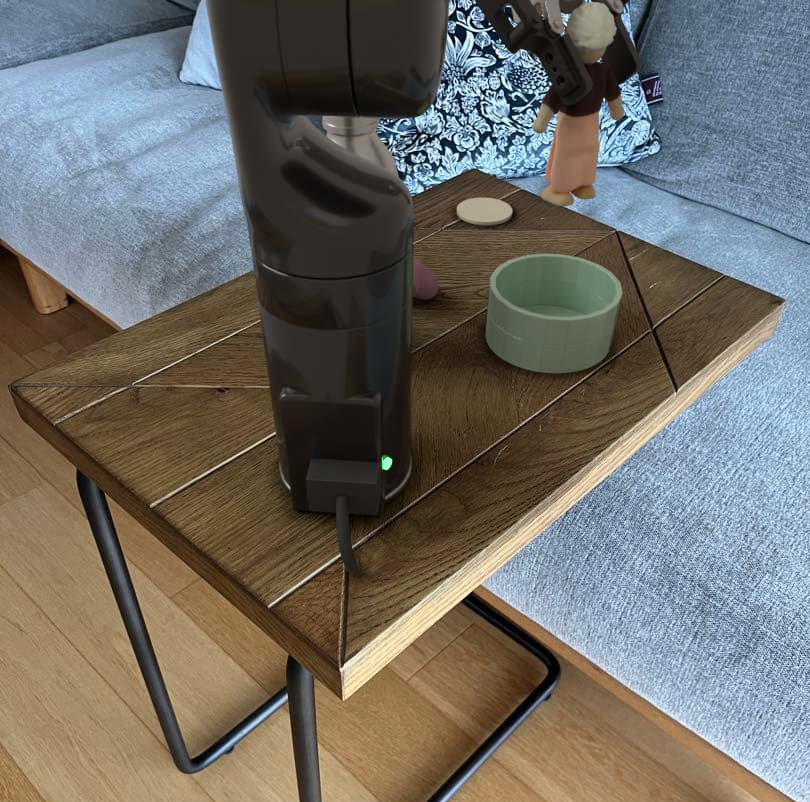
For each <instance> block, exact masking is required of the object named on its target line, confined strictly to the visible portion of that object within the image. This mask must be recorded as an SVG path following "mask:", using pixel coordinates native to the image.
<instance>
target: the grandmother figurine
mask: <svg viewBox="0 0 810 802" xmlns="http://www.w3.org/2000/svg"><path fill="white" fill-rule="evenodd" d="M616 30H617V28H616V26H615V22H614V17H613V15H612V14H611V13H610V12H609V9H608V7H607V6H606V5H605V4H603V3H598V2H592V1H589V2H586V3H584V4H583V5H582V6H580V7H578V8H577V9H575V10H574V11H573V12H572V13H571V14H569V16H568V20H567V22H566V26H565V30H564V35H565V34H567V33H568V34H569V36H570V38H571V40H572V42H573V44H574V46H575V48H576V50H577V52H578V54H579V56H580V58H581V60H582V62H583V64H584V66H585V68H586V70H587V72H588V74H589V76H590V78H591V80H592V84H593V85H592V89H591V91H590V92H589V93H587V94H586V95H585V96H584V97H583V98H581V99H580V100H579V101H578V102H577V103H575V104H573V105H570V106H565V105H564V104H563V103H562V101H561V99H560V97H559V96H558V95H557V93H556V92H555V90H554V88H553V86H552V84H551V85H550V86H549V88H548V90H547V91H546V93H545V94H544V96H543V98H542V99H541V105H540V108H539V110H538V112H537V117H536V118H535V119H534V120H533V122H532V129H533V132H535V133H536V134H539V135H540V134H544V133H545V132H546V131H547V130H548V127H549V123H550V121H552V119H553V117H554V116H555V114H557V119H556V124H555V128H554V133H553V138H552V142H551V146H550V150H549V155H548V157H547V162H546V163H547V164H546V168H545V175H544V180H545V181H546V182H550V184H548V185H546V187H544V188H543V189H542V191H541V193H540V198H541V199H542V200H544V201H546V202H548V203H550V204H553V205H555V206H558V207H569V206H572V205H574V203H575V198H574V197H576V198H578V199H580V200H591V199H595V198H596V196H597V193H596V190H595V188H594V186H593V184H594V183H596V177H597V169H598V168H597V167H598V162H599V161H598V160H599V154H600V153H599V152H600V141H599V140H600V111H601V109H602V106H603V102H604V101H603V100H604V99H605V100H606V104H607V107H608V109H609V116H610V118H611V119H612V120H614V121H619V120H621V119H623V117H624V116H625V109H624V107H623V98H622V89H621V87H620V86H621V85H619V84H618V82H617V79H616V77H615V75H614V73H613V71H612V69H611V67H610V66H609V64H607V63H603V62H600V61H599V60H601V57H602V56H603V54H604V53H605V50H606V48H607V46H608V45H609V44H611V42H613V36H614V35H615V34H616Z"/></svg>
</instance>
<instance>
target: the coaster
mask: <svg viewBox="0 0 810 802" xmlns="http://www.w3.org/2000/svg"><path fill="white" fill-rule="evenodd" d="M513 211H514V209H513V208H512V206H511V205H510V204H509V203H507V202H505V201H503V200H501V199H498V198H494V197H493V198H492V197H472V198H468V199H465V200H463V201H461V202H460V203H458V205H457V206H456V215H457V217H458V218H459V219H461V220H462V221H464V222H466V223H468V224H472V225H477V226H497V225H500V224H504V223H506V222H508V221H510V220H511V218H512V216H513Z"/></svg>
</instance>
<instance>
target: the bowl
mask: <svg viewBox="0 0 810 802" xmlns="http://www.w3.org/2000/svg"><path fill="white" fill-rule="evenodd" d="M623 295H624V293H623V288H622V284H621V281H620V280H619V279H618V278H617V277H616V275H615V274H614V273H613V272H612V271H610V270H609V269H607V268H606V267H604V266H602V265H601V264H598V263H596V262H593V261H591V260H588V259H585V258H582V257H578V256H573V255H568V254H561V253H535V254H534V253H533V254H526V255H522V256H519V257H516V258H511V259H509V260H507V261H505V262H504V263H502V264H500V265H498V266H497V267H496V268H495V270H494V271H493V272H492V274H491V275H490V278H489V287H488V297H487V298H488V299H487V301H488V302H487V310H486V322H485V340H486V343H487V345H488V347H489V349H490V350H491V351H492V352H493V353H494V354H495V355H496V356H497V357H498V358H500V359H502V360H503V361H504V362H506V363H509V364H510V365H513V366H514V367H516V368H520V369H522V370H527V371H531V372H536V373H543V374H569V373H575V372H580V371H584V370H586V369H587V370H588V369H589V368H592V367H593V366H596V365H597V364H599V363H601V362H602V361H603V360H604V359H605V358H606V357H607V356H608V355H609V352H610V350H611V346H612V344H613V341H614V336H615V331H616V326H617V322H618V317H619V312H620V309H621V303H622V300H623Z"/></svg>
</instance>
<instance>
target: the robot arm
mask: <svg viewBox="0 0 810 802" xmlns="http://www.w3.org/2000/svg"><path fill="white" fill-rule="evenodd" d="M630 1H631V0H590V2H598V3H603V4H605V5H606V6H607V7H608V9H609V12H610V13H611V14H612V15H613V17H614V22H615V26H616V28H617V30H616V34H615V35H614V36H613V42H611V44H609V45H608V46H607V48H606V50H605V53H604V54H603V56H602V57H601V58H600V60H601V63H607V64H609V66H610V67H611V69H612V71H613V73H614V75H615V77H616V79H617V82H618V84H619V86H621V85H623V84H625V83H626V82H628V81H629V80H630V79H632V78H633V77H634V76H635V75H636V74H637V73H639V72H640V71H641V69H642V68H643V61H642V59H641V57H640V55H639V52H638V50H637V47H636V46H635V44H634V41H633V40H632V37H631V36H630V34H629V31H628V29H627V28H626V25H625V23H624V21H623V18H622V13H623V11H624V8H625V6H626V5H627V4H628V3H630ZM474 2H475V4H477V6H478V8H479V9H480V11H481V13H482V14H483V15H484V17H485V18H486V20H487V21H488V23H489V24H490V26H491V27H492V28H493V30H494V32H495V33H496V35H497V37H498V38H499V40H500V41H501V43H502V44H503V45H504V47H505V49H506V51H508V52H509V53H511V54H513V55H514V54H517V53H518V52H519V51H521V50H524V51H527V53H528V54H529V55H530V56H531V57H533V58H537V59H538V60H539V62H540V64H541V66H542V68H543V70H544V72H545V74H546V76H547V78H548V79H549V82H550V84H551V85H552V86H553V88H554V90H555V92H556V93H557V95H558V96H559V97H560V99H561V101H562V103H563V104H564V105H565V106H570V105H573V104H575V103H577V102H578V101H579V100H580V99H581V98H583V97H584V96H585V95H586V94H587V93H589V92H590V91H591V89H592V85H593V84H592V80H591V78H590V76H589V74H588V72H587V70H586V68H585V66H584V64H583V62H582V60H581V58H580V56H579V54H578V52H577V50H576V48H575V46H574V44H573V42H572V40H571V38H570V36H569V34H568V33H567V34H565V33H564V32H565V25H564V20H563V15H562V12H563V13H564V14H565V15H571V13H572V12H573V11H574V10H575V9H577V8H578V7H580V6H582V5H583V4H584V3H587V1H586V0H474ZM508 5H509V6H510V9H511V14H512V17H513V22H514V23H515V26H514V25H513V23H512V22H511V20H510V18H509V17H508V16H507V14H506V12H505V10H506V7H508ZM205 6H206V12H207V16H208V23H209V30H210V36H211V41H212V46H213V52H214V53H213V54H214V58H215V63H216V64H215V65H216V68H217V72H218V78H219V83H220V88H221V92H222V98H223V102H224V107H225V112H226V117H227V123H228V127H229V135H230V140H231V145H232V150H233V151H232V152H233V156H234V163H235V170H236V177H237V183H238V189H239V194H240V201H241V205H242V209H243V212H244V213H243V214H244V216H245V220H246V225H247V232H248V239H249V246H250V252H251V259H252V266H253V274H254V282H255V288H256V297H257V306H258V312H259V320H260V327H261V335H262V342H263V343H262V344H263V349H264V356H265V364H266V370H267V378H268V386H269V387H268V388H269V392H270V399H271V408H272V415H273V422H274V430H275V437H276V443H277V450H278V451H277V452H278V458H279V465H278V467H279V475H280V480H281V483H282V486H283V487H284V489H285V491H286V492H287V494H288V495H290V499H291V507H292V510H293V511H297V512H310V513H326V514H335V523H336V524H335V525H336V527H335V528H336V537H337V544H338V551H339V554H340V558H341V560H342V563H343V566H344V569H345V571H346V572H348V573H352V572H355V571H356V570H358V569H359V565H358V563H357V559H356V555H355V553H354V549H353V545H352V539H351V529H350V515H356V516H370V517H371V516H372V517H381V516H383V514H384V509H385V506H386V505H387V504H389V503H390V502H392V501H393V500H395V499H396V498H397V497H398V496H400V495H401V494H402V492H403V491H404V490H405V489H406V487H407V486H408V484H409V482H410V480H411V477H412V474H413V473H412V472H413V471H412V470H413V457H412V376H413V375H412V371H413V370H412V367H413V365H412V361H413V298H414V297H413V257H414V249H415V248H414V247H415V246H414V240H415V205H414V201H413V197H412V194H411V191H410V188H409V187H408V186H407V185H406V183H405V182H404V181H403V180H402V179H401V178H400V176H399V177H398V176H396V175H395V174H394V173H392V172H391V171H389V170H388V169H386V168H384V167H382V166H380V165H378V164H376V163H374V162H372V161H369V160H367V159H365V158H363V157H360V156H358V155H356V154H354V153H352V152H350V151H348V150H346V149H344V148H342V147H341V146H339V145H338V144H336V143H335V142H333V141H332V140H330V139H329V138H328V137H326V134H324V133H323V132H322V131H320V130H319V129H318V128H317V127H316V126H315V125H314V124H313V123H312V122H311V120H310V119H309V118H308V117H322V118H323V117H347V118H359V117H362V118H376V119H379V120H406V119H407V120H408V119H415V118H419V117H421V116H423V115H425V114H426V113H427V112H428V111H429V109H431V107H432V105H433V104H434V102H435V100H436V98H437V95H438V92H439V89H440V86H441V82H442V78H443V74H444V73H443V72H444V69H445V60H446V53H447V44H448V33H449V30H448V29H449V16H450V14H449V13H450V0H205ZM542 17H543V18H542ZM562 33H564V34H562Z"/></svg>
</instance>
